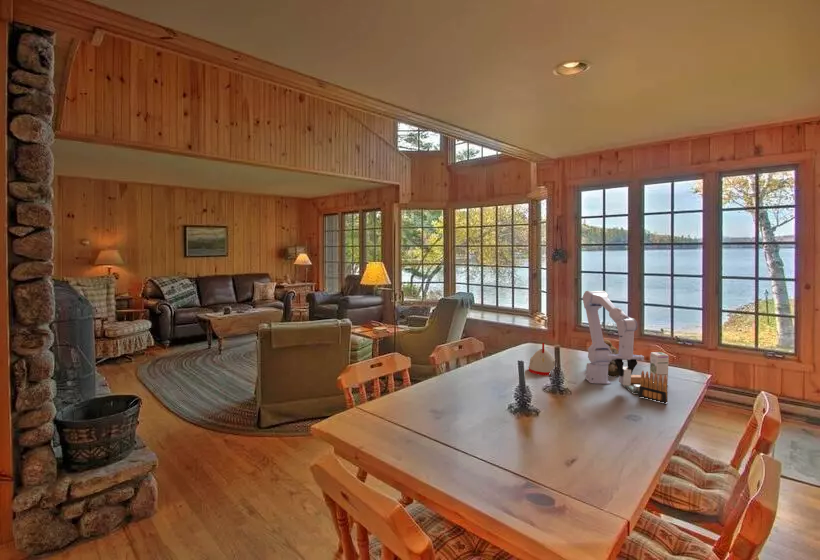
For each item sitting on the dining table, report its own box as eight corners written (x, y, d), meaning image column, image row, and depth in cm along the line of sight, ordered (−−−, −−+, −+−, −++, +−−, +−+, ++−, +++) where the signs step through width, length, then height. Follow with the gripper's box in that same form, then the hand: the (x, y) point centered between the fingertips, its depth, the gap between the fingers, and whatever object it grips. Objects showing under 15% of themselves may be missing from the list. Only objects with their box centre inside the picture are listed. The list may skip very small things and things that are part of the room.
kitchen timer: (528, 374, 214) (529, 345, 213) (529, 366, 227) (529, 339, 226) (557, 376, 210) (558, 347, 209) (556, 368, 223) (556, 341, 222)
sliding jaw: (626, 383, 194) (626, 377, 194) (623, 380, 198) (623, 374, 198) (649, 383, 193) (649, 377, 193) (645, 381, 197) (645, 375, 197)
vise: (633, 394, 184) (634, 386, 184) (620, 383, 198) (621, 376, 198) (662, 395, 183) (662, 387, 183) (647, 384, 197) (647, 377, 197)
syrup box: (668, 385, 196) (669, 354, 195) (655, 385, 196) (656, 354, 195) (661, 381, 202) (662, 351, 201) (648, 381, 202) (650, 351, 201)
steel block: (630, 385, 181) (631, 369, 181) (623, 385, 182) (624, 369, 181) (625, 381, 186) (626, 366, 186) (618, 381, 187) (619, 366, 186)
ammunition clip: (638, 397, 180) (639, 370, 180) (640, 396, 182) (641, 369, 181) (665, 404, 172) (667, 376, 171) (667, 403, 173) (668, 375, 172)
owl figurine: (582, 370, 220) (583, 338, 218) (593, 366, 228) (593, 335, 226) (618, 378, 206) (619, 344, 205) (627, 373, 214) (629, 341, 213)
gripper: (612, 347, 180) (611, 378, 181) (647, 348, 178) (646, 379, 179) (606, 343, 187) (605, 373, 188) (640, 344, 185) (639, 374, 186)
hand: (624, 375), depth 184 cm, fingers closed on steel block, 3 cm apart
